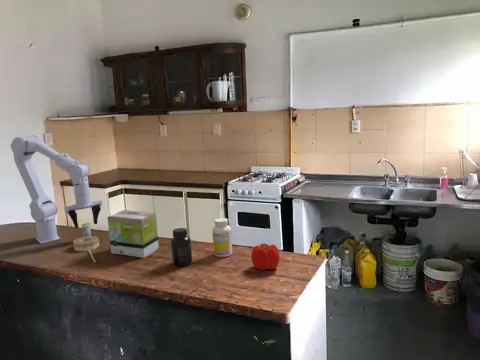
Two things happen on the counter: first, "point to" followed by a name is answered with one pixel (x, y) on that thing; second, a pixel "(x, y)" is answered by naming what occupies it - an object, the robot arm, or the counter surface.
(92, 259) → the strip
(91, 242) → the bead
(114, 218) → the tea box
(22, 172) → the robot arm
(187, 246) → the supplement bottle
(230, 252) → the supplement bottle
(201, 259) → the counter surface
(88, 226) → the white-tipped blue cylinder
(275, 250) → the red bell pepper
